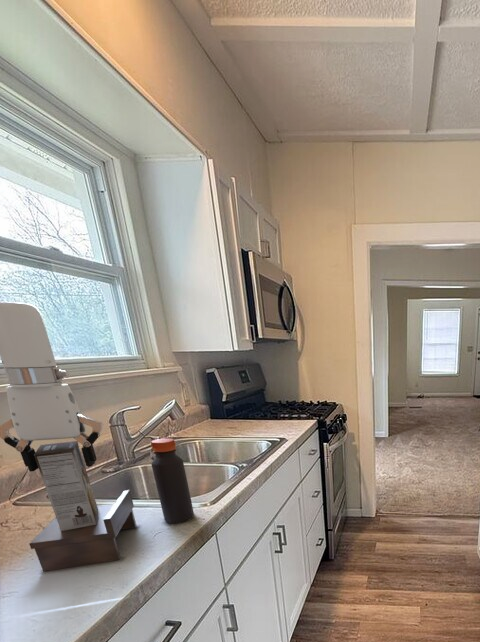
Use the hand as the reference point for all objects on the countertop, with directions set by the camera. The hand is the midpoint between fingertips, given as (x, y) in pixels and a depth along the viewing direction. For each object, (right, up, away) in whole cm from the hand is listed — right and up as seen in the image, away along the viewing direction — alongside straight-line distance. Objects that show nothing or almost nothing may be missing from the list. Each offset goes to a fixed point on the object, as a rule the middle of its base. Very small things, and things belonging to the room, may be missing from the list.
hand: (63, 467), depth 81 cm
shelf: (+1, -16, +7) cm, 18 cm away
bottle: (+13, -11, +21) cm, 27 cm away
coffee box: (0, -11, +5) cm, 12 cm away
